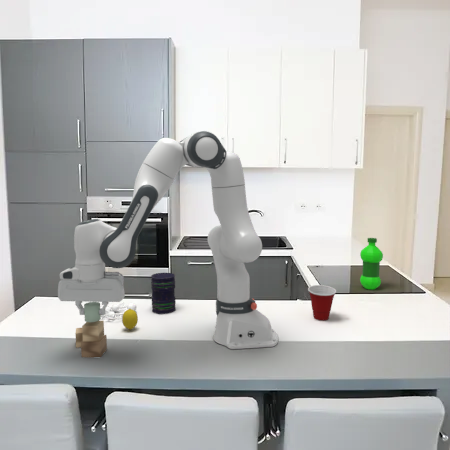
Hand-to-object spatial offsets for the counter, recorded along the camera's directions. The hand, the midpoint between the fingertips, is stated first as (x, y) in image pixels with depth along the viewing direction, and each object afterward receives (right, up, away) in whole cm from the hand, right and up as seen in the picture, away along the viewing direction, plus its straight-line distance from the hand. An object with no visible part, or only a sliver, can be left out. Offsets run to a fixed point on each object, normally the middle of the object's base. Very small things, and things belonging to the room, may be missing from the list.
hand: (92, 314), depth 129 cm
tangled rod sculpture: (-4, -9, +36) cm, 37 cm away
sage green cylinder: (0, -2, 0) cm, 2 cm away
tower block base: (0, -13, +2) cm, 13 cm away
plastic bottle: (+114, -3, +74) cm, 136 cm away
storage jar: (+16, -8, +43) cm, 46 cm away
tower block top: (0, -8, +1) cm, 8 cm away
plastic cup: (+80, -9, +32) cm, 86 cm away
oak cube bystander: (-6, -12, +9) cm, 16 cm away
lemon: (+7, -10, +21) cm, 25 cm away
